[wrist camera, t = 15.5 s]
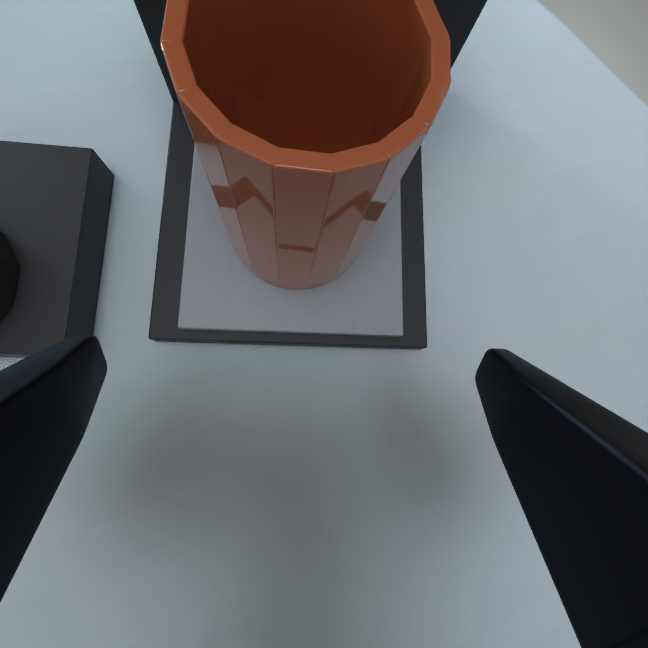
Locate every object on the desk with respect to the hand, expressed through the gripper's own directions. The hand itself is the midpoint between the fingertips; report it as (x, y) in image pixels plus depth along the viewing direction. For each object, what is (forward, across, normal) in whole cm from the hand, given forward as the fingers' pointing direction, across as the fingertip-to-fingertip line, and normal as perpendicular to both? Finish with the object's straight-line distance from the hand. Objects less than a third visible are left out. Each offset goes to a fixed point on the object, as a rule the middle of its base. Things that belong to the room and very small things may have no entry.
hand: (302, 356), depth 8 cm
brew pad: (+11, +14, +3) cm, 18 cm away
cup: (+11, 0, +1) cm, 11 cm away
